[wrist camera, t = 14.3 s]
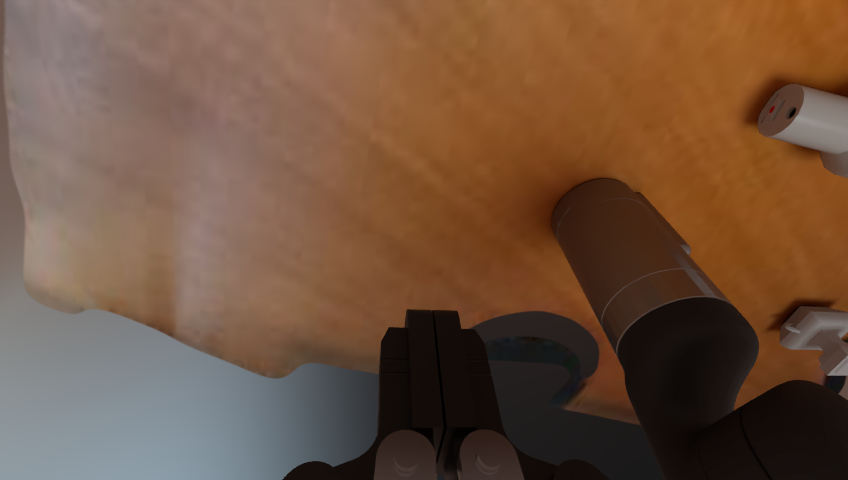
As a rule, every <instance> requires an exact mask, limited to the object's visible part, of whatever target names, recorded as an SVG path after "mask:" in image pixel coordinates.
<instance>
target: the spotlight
mask: <svg viewBox="0 0 848 480" xmlns="http://www.w3.org/2000/svg"><path fill="white" fill-rule="evenodd" d="M758 129H759V133H761V134H762V135H764V136H765V137H769V138H773V139H777V140H781V141H784V142H788V143H792V144H796V145H800V146H804V147H807V148H811V149H815V150H819V151H820V158H821V161H822V163H823V166H824V168H826V169H827V170H829V171H830V172H832V173H833V174H835V175H838V176H842V177H846V178H848V97H844V96H841V95H837V94H833V93H829V92H825V91H822V90H818V89H814V88H810V87H806V86H803V85H799V84H789V85H786V86H784V87H782V88H781V89H779V90H777V91H776V92H775V93H774V94H773V95H772V97H771V98H770V99H769V101H768V102H767V104H766V105H765V106H764V108H763V109H762V111H761V113H760V115H759V118H758Z"/></svg>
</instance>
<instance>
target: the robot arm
mask: <svg viewBox="0 0 848 480" xmlns="http://www.w3.org/2000/svg"><path fill="white" fill-rule="evenodd" d="M552 230H553V233H554V235H555V237H556V239H557V241H558V243H559V245H560V247H561V249H562V250H563V252H564V254H565V257H566V259H567V260H568V262H569V264H570V266H571V268H572V270H573V272H574V274H575V276H576V278H577V280H578V282H579V284H580V286H581V288H582V290H583V292H584V293H585V295H586V297H587V299H588V301H589V303H590V305H591V307H592V309H593V311H594V313H595V315H596V317H597V319H598V321H599V323H600V324H601V326H602V328H603V330H604V332H605V334H606V336H607V338H608V340H609V342H610V344H611V346H612V348H613V349H614V351H615V353H616V355H617V357H618V359H619V361H620V363H621V365H622V367H623V370H624V373H625V385H626V390H627V393H628V396H629V399H630V401H631V403H632V406H633V408H634V410H635V412H636V415H637V417H638V419H639V421H640V424H641V426H642V428H643V431H644V433H645V435H646V437H647V439H648V442H649V444H650V447H651V449H652V452H653V454H654V456H655V459H656V461H657V463H658V466H659V468H660V470H661V473H662V475H663V478H664V480H848V400H846V399H845V398H843V397H842V396H840V395H839V394H837V393H835V392H833V391H832V390H830V389H828V388H826V387H824V386H822V385H819V384H817V383H814V382H810V381H806V380H792V381H787V382H785V383H782V384H780V385H778V386H775V387H774V388H772V389H770V390H768V391H767V392H765V393H763V394H762V395H760V396H758V397H756V398H755V399H753V400H751V401H749V402H748V403H746V404H744V405H743V406H741V407H739V408H738V409H736V410H734V405H735V401H736V398H737V395H738V392H739V390H740V388H741V386H742V384H743V382H744V381H745V379H746V377H747V376H748V374H749V372H750V370H751V369H752V367H753V366H754V363H755V361H756V359H757V356H758V351H759V342H758V338H757V335H756V333H755V331H754V329H753V328H752V327H751V325H750V324H749V323H748V321H747V320H746V319H745V318H744V317H743V316H742V315H741V313H740V312H739V311H738V310H737V309H736V308H735V307H734V306H733V305H732V303H731V302H730V301H729V300H728V299H727V298H726V297H725V295H724V294H723V293H722V292H721V291H720V290H719V289H718V287H717V286H716V285H715V284H714V283H713V282H712V281H711V280H710V279H709V278H708V276H707V275H706V274H705V273H704V272H703V271H702V270H701V268H700V267H699V266H698V265H697V264H696V263H695V262H694V260H693V259H692V258H691V257H690V256H689V254H690V252H691V248H690V246H689V245H688V244H687V243H686V242H685V240H684V239H683V238H682V237H681V236H680V235H679V234H678V233H677V232H676V231H675V229H674V228H673V227H672V226H671V225H670V224H669V223H668V222H667V221H666V220H665V218H664V217H663V216H662V215H661V214H660V213H659V212H658V211H657V210H656V208H655V207H654V206H653V205H652V204H651V203H650V202H649V201H648V200H647V199H646V197H645V196H644V195H643V194H640V193H634V192H633V191H632V190H631V189H630V188H629V187H628V186H627V185H626V184H624V183H622V182H621V181H617V180H614V179H597V180H592V181H589V182H586V183H583V184H581V185H579V186H577V187H576V188H574V189H573V190H571V191H570V192H568V193H567V194H566V195H565V196H564V197H563V198H562V199H561V201H560V202H559V203H558V205H557V206H556V208H555V210H554V212H553V216H552ZM733 410H734V411H733ZM377 431H378V432H377V437H376V440H375V441H374V443H373V445H372V446H371V447H370V448H369V450H368V451H367V452H365V453H364V454H363V455H361V456H360V457H358V458H356V459H354V460H351V461H348V462H346V463H343V464H340V465H338V466H335V467H332V466H331V465H329V464H327V463H324V462H319V461H312V462H307V463H304V464H301V465H299V466H297V467H296V468H294V469H293V470H292V471H291V472H289V473H288V474H287V475H286V477H284V479H283V480H436V478H437V477H436V476H437V474H445V480H609V479H608V478H607V477H606V476H605V475H604V474H603V473H602V472H601V471H600V470H598V469H597V468H596V467H594V466H593V465H591V464H590V463H587V462H585V461H581V460H576V459H573V460H567V461H565V462H563V463H562V464H560V465H559V466H556V465H554V464H551V463H548V462H544V461H542V460H538V459H536V458H533V457H530V456H528V455H526V454H524V453H523V452H521V451H520V450H519V449H517V448H516V447H515V446H514V445H513V444H512V443H511V441H510V440H509V439H508V437H507V435H506V433H505V431H504V429H503V425H502V421H501V416H500V412H499V407H498V403H497V398H496V394H495V389H494V384H493V380H492V377H491V371H490V366H489V363H488V357H487V352H486V348H485V343H484V342H483V341H482V339H481V338H480V336H479V335H478V333H477V332H476V331H475V329H461V325H460V319H459V314H458V311H450V310H432V311H431V310H411V309H407V311H406V318H405V327H404V328H395V327H389V328H388V330H387V332H386V334H385V336H384V337H383V339H382V341H381V352H380V366H379V393H378V429H377Z"/></svg>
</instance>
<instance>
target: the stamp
mask: <svg viewBox="0 0 848 480" xmlns="http://www.w3.org/2000/svg"><path fill="white" fill-rule="evenodd" d="M847 332H848V312H846V311H841V310H836V309H831V308H828V307H809V306H800V307H799V308H798V309H797V310H796V311H795V312H794V313H793V314H792V315H791V316H790V318H789V319H788V320H787V321H786V322H785V323H784V324H783V325H782V326H781V332H780V342H779V344H781V345H782V346H783V347H785V348H788V349H804V350H823V352H824V354H823V355H821V356H820V358H819V362H820V363H821V365H820V366H819V367H820V368H821V369H822V370H823V371H824V372H825V374H826V375H848V343H845V342H843V341H842V340H841V339H840V338H841V337H843V336H844V335H845V334H846V333H847Z"/></svg>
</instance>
